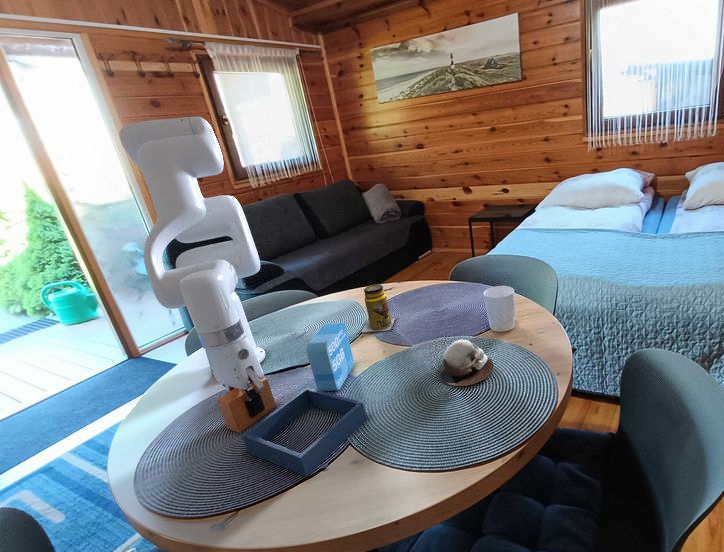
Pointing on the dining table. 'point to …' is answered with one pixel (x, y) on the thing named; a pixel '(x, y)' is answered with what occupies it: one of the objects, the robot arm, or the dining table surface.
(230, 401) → the block
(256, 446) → the bin
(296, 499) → the dining table surface
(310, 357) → the data package
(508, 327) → the white cup
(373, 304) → the condiment
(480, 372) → the skull
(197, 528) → the dining table surface
